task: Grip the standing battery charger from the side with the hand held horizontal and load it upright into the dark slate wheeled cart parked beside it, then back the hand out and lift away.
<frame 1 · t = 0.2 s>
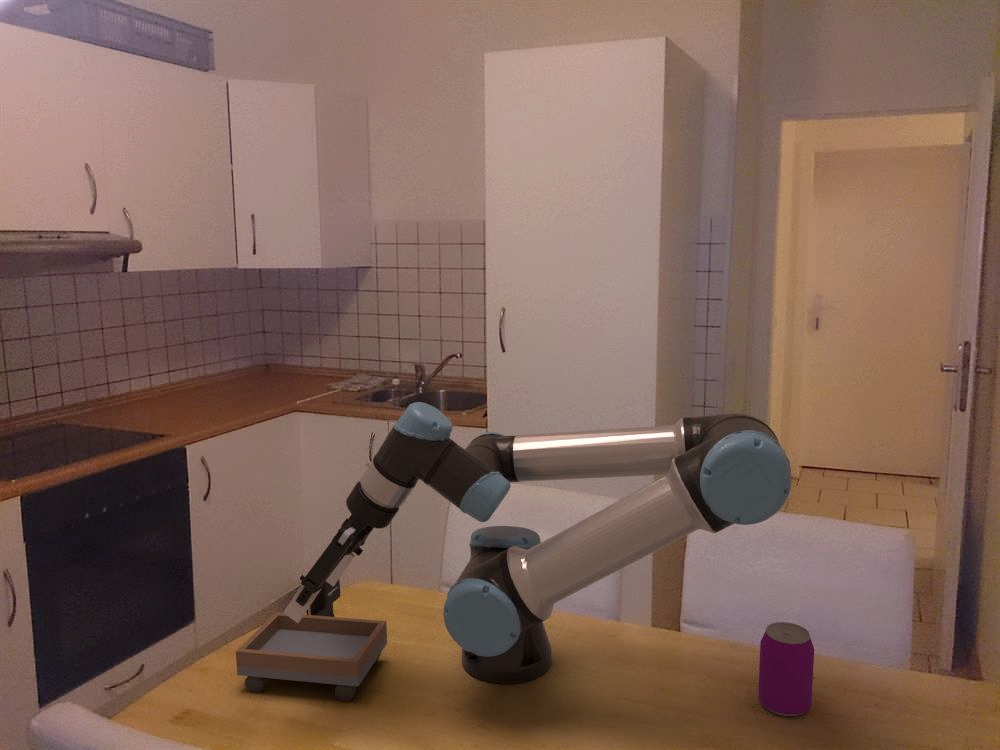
hand: (310, 598, 131), 15 cm above the table, tool tilted 35°, fingers open, 13 cm apart
beverage can: (784, 706, 127), on the table
cart: (315, 675, 137), on the table
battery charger: (325, 635, 151), on the table
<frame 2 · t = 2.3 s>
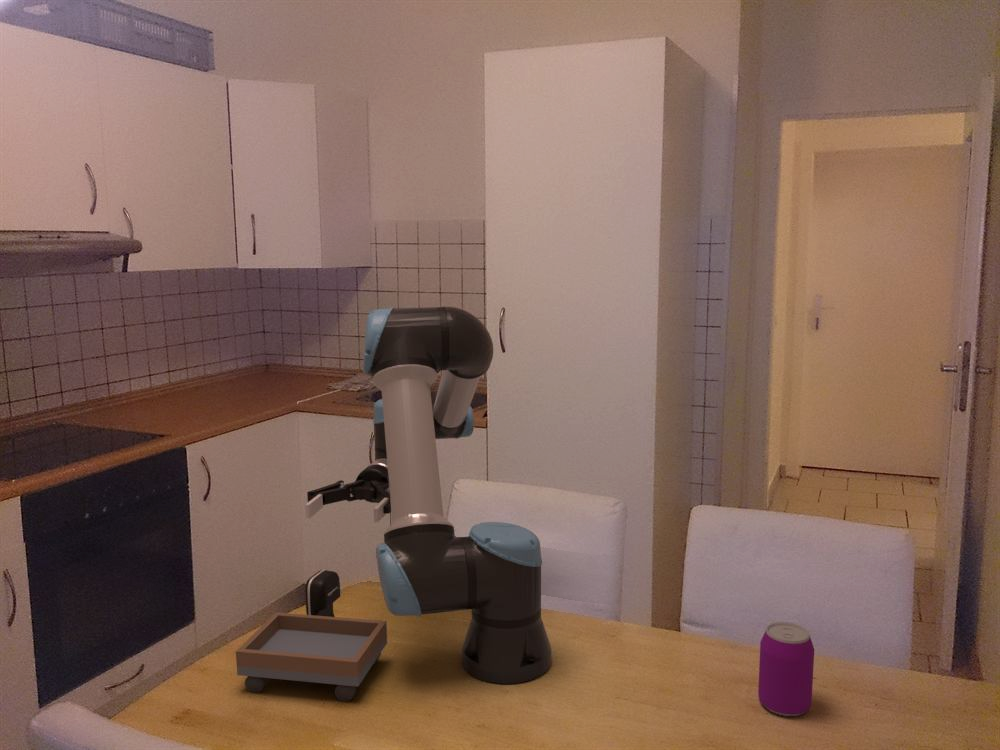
hand: (341, 513, 157), 19 cm above the table, tool horizontal, fingers open, 13 cm apart
nothing on the table moved.
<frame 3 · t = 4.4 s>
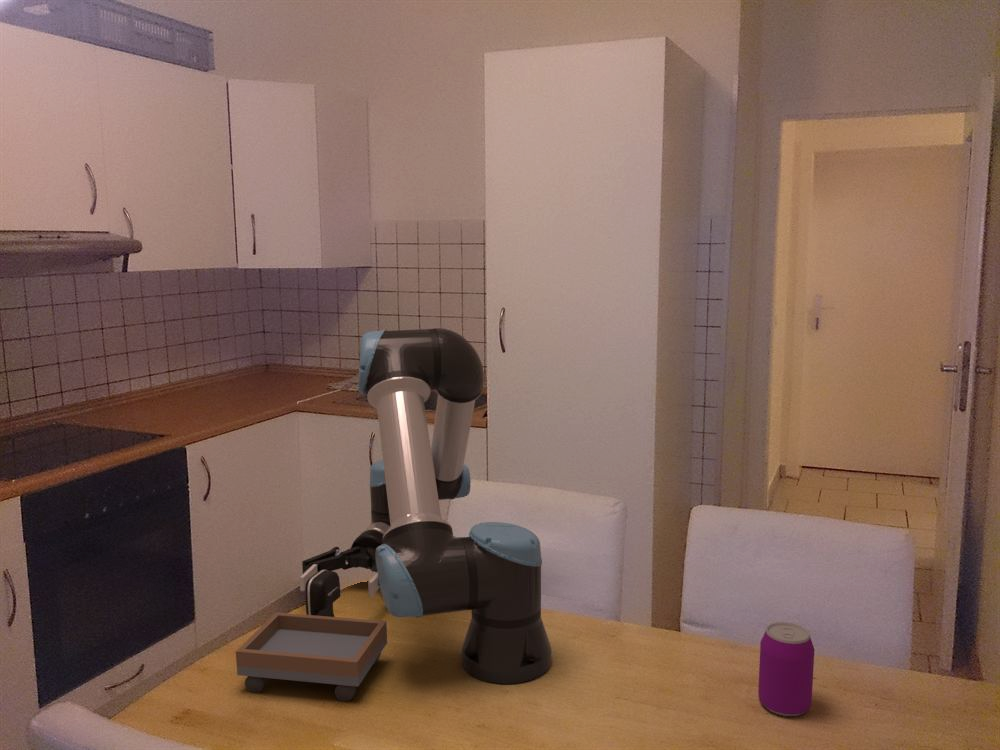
hand: (335, 586, 156), 6 cm above the table, tool horizontal, fingers open, 13 cm apart
nothing on the table moved.
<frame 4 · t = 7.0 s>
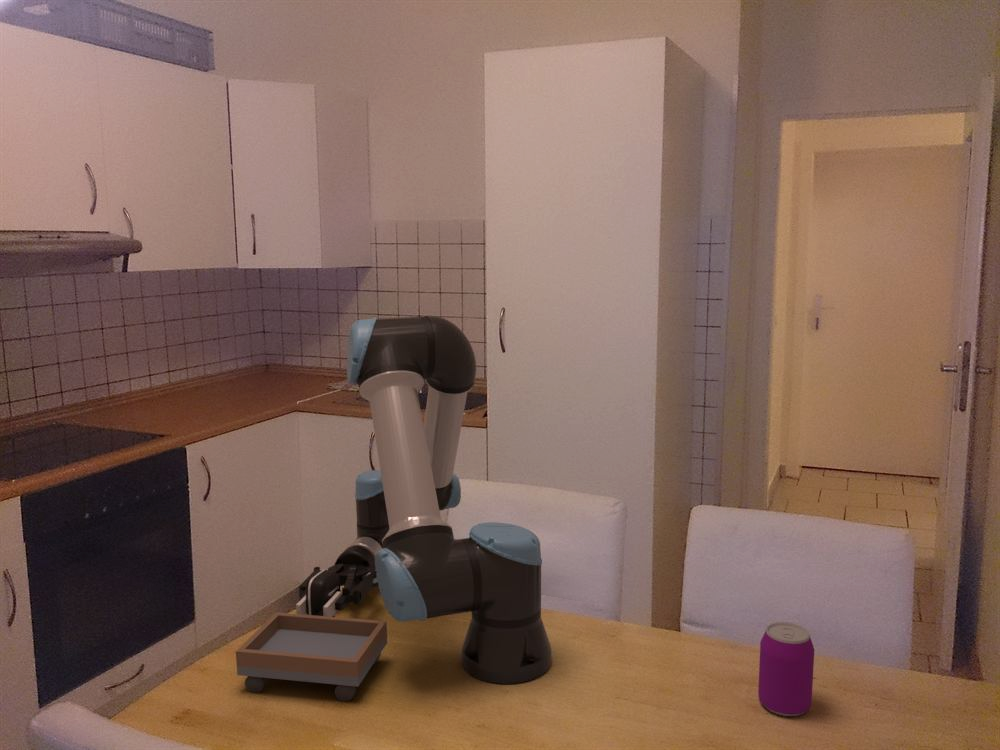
hand: (312, 613, 145), 7 cm above the table, tool horizontal, fingers closed on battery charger, 4 cm apart
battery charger: (325, 635, 151), on the table, touching gripper
everything else where it was.
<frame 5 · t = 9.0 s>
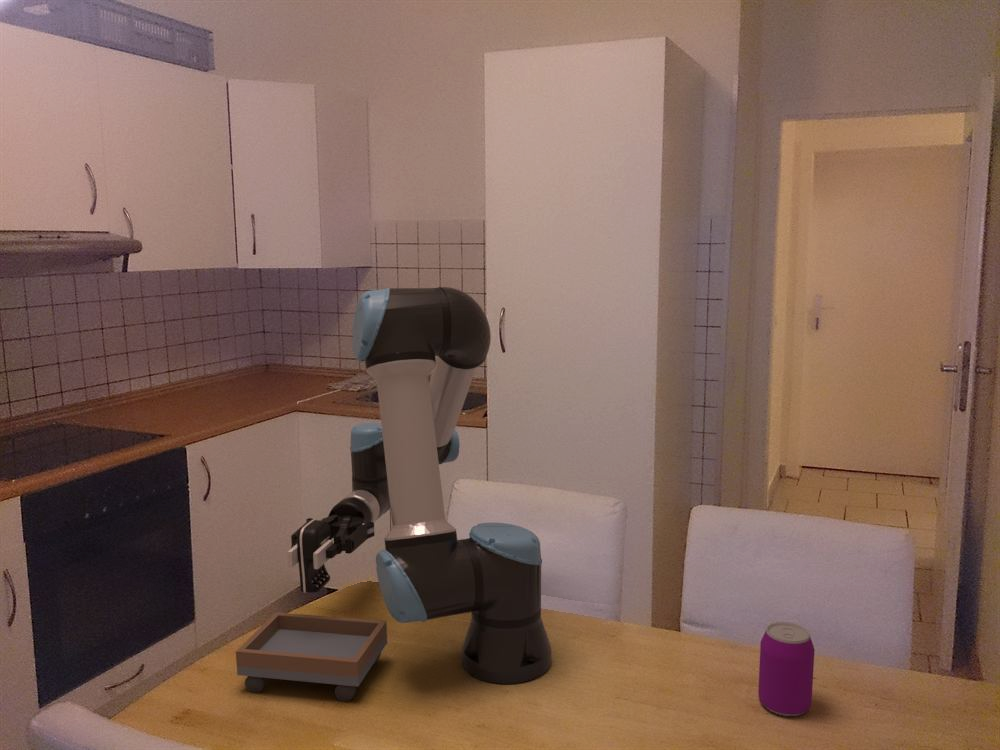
hand: (302, 560, 139), 18 cm above the table, tool horizontal, fingers closed on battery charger, 4 cm apart
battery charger: (318, 587, 145), point 11 cm above the table, touching gripper
everything else where it was.
when the fingers open (12 cm above the table, at t = 11.2 s): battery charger drops 1 cm, resting on cart.
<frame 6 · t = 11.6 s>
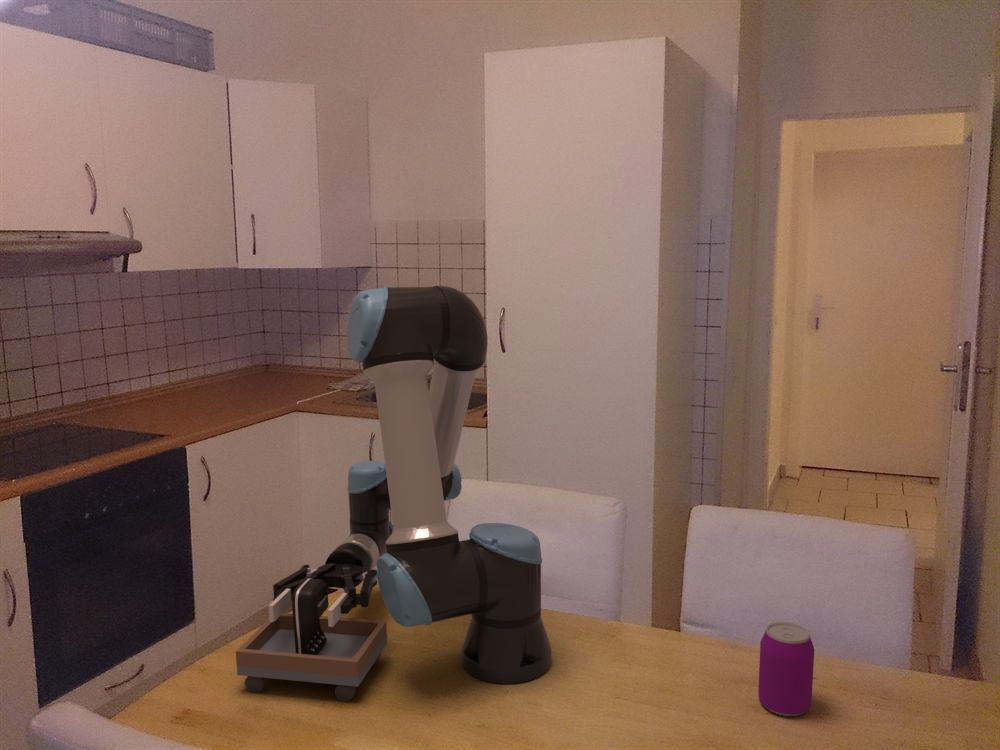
hand: (300, 616, 130), 12 cm above the table, tool horizontal, fingers open, 9 cm apart
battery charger: (314, 650, 136), point 4 cm above the table, touching cart
everything else where it was.
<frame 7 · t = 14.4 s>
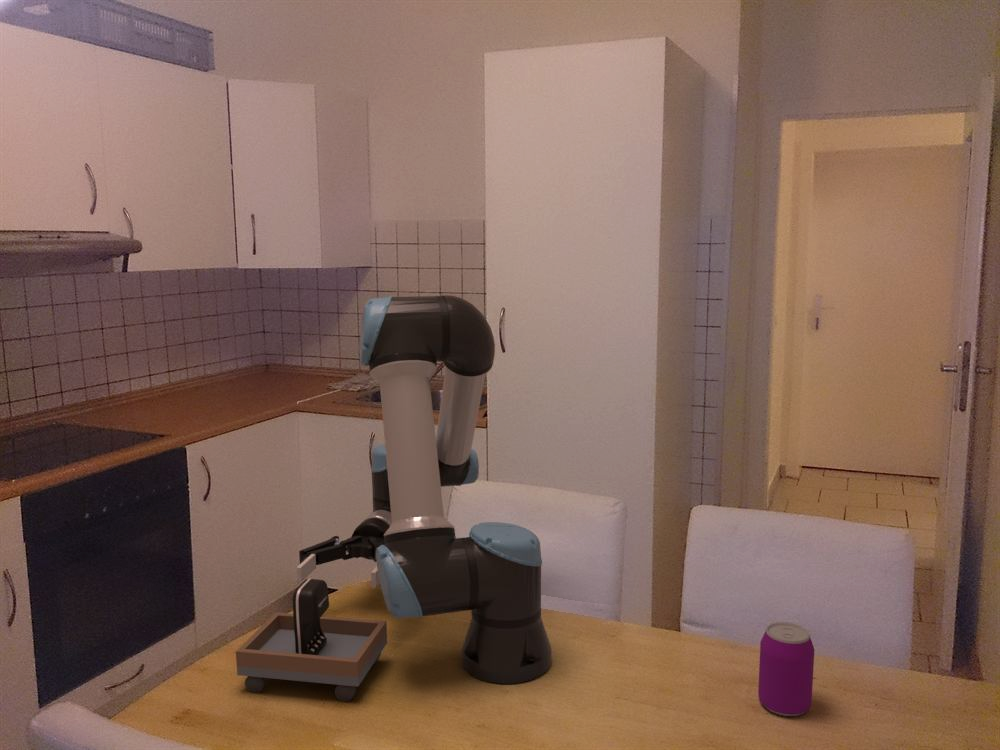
hand: (335, 577, 144), 13 cm above the table, tool horizontal, fingers open, 13 cm apart
nothing on the table moved.
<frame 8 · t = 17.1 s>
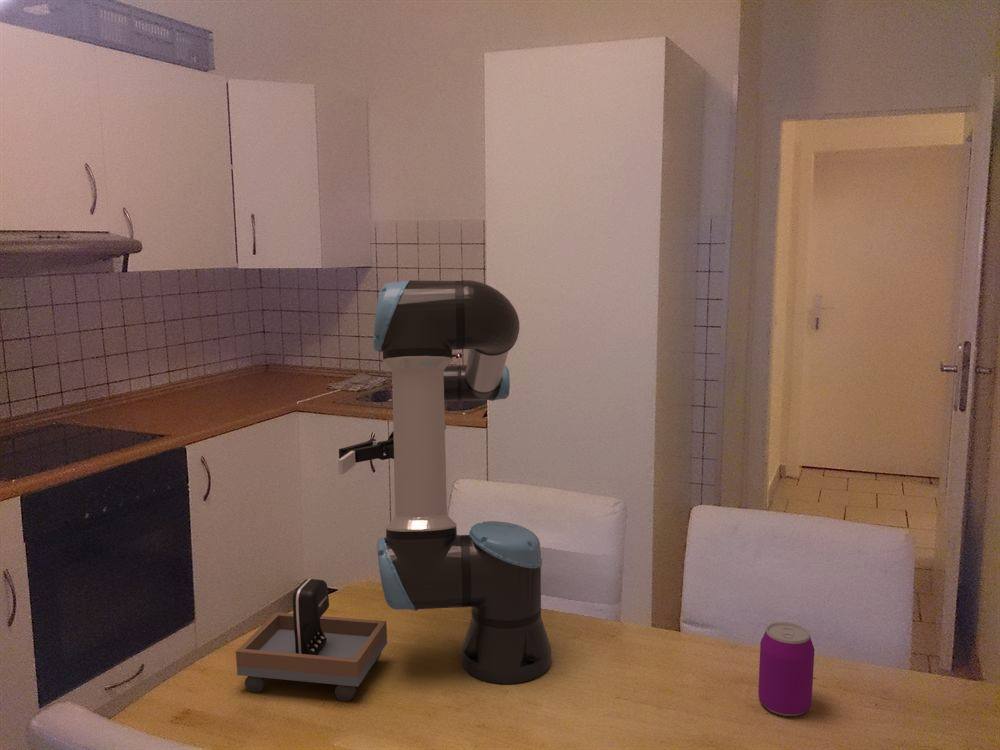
hand: (376, 468, 149), 30 cm above the table, tool horizontal, fingers open, 13 cm apart
nothing on the table moved.
at the end: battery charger inside the target area on the cart (0.0 cm from its centre), point 4.3 cm above the cart's base; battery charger tilted 0°; the gripper is holding nothing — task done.
